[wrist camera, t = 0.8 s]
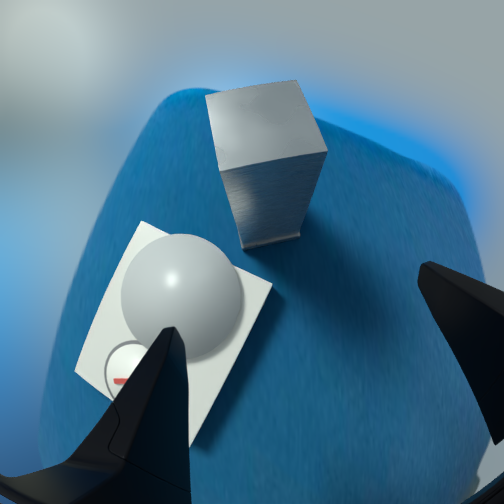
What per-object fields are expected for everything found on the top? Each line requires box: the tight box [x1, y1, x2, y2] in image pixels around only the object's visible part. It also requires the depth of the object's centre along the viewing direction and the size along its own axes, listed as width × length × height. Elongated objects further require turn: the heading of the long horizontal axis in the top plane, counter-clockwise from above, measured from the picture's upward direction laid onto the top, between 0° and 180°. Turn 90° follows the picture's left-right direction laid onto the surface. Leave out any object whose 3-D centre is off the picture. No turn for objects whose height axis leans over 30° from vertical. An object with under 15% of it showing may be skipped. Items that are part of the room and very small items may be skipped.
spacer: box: [205, 80, 328, 251], centre depth 18 cm, size 5×5×13 cm
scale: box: [75, 221, 272, 447], centre depth 21 cm, size 12×16×2 cm
